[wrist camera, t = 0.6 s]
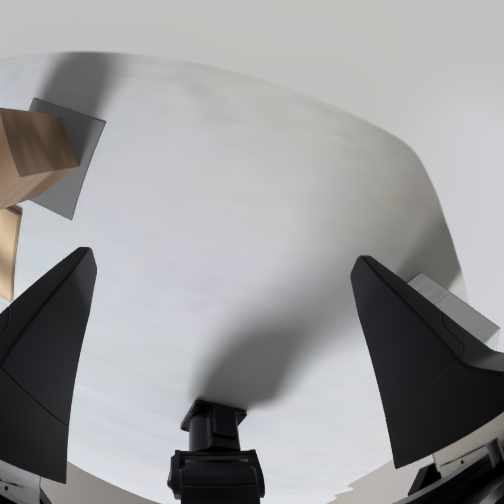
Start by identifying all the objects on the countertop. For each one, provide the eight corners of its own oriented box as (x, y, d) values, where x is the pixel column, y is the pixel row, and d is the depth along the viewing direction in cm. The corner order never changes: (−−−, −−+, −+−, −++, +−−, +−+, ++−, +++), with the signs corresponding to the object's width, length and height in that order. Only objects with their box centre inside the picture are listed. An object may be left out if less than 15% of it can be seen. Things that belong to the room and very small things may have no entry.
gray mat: (71, 219, 20) (71, 220, 20) (6, 187, 18) (5, 187, 18) (105, 122, 18) (105, 122, 18) (33, 98, 16) (33, 98, 16)
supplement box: (383, 348, 30) (439, 419, 18) (370, 304, 28) (442, 382, 16) (429, 316, 30) (492, 374, 18) (422, 270, 27) (502, 326, 16)
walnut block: (79, 166, 19) (19, 177, 11) (39, 195, 19) (-22, 219, 11) (60, 116, 17) (-2, 107, 9) (21, 148, 17) (-42, 155, 9)
